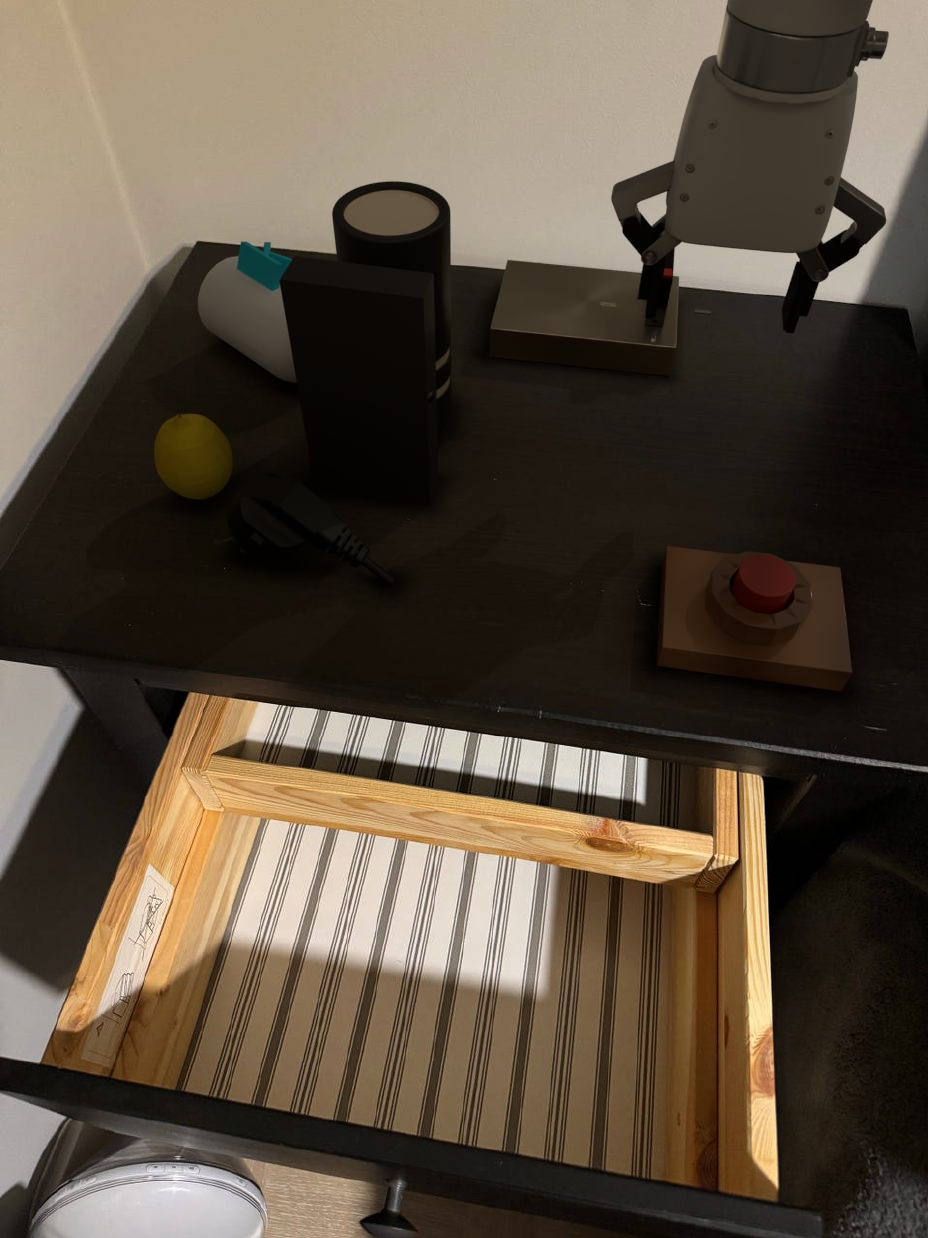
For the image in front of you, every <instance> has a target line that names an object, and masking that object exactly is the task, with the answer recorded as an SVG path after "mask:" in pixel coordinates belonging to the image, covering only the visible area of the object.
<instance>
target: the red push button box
mask: <svg viewBox="0 0 928 1238" xmlns="http://www.w3.org/2000/svg"><path fill="white" fill-rule="evenodd" d="M754 555H770V556H774V557H776V558H779V559H781V560H782V561H784V562H785V563H787V564H788V565H789V566H790V567H791V569H792V570H793V572H794V574H795V578H796V583H795V586H794V588H793V591H792V593H791V595H790V597H789V599H788V601H787V603H786V605H785V606H784V607H783V608H782V609H781V610H779V611H777V612H774V613H767V614H764V613H757V612H754V611H751V610H749V609H747V608H745V607H744V606H742V605H741V604H740V603H739V602H738V601H737V599H736V598H735V596H734V593H733V583H734V580H735V578H736V575H737V572H738V570H739V567H740V565H741V563H742V562H743V561H744V560H745V559H747V558H748V557H751V556H754ZM850 649H851V648H850V640H849V633H848V624H847V614H846V605H845V597H844V589H843V577H842V572H841V567H839V566H831V565H824V564H817V563H816V564H815V563H807V562H800V561H792V560H786V559H783V558H782V557H780V556H778V555H775V554H773V553H768V552H760V551H753V550H752V551H751V550H747V551H742V552H740V553H729V552H728V553H727V552H719V551H714V550H713V551H712V550H705V549H704V550H703V549H696V548H689V547H688V548H687V547H680V546H673V545H666V547H665V550H664V554H663V558H662V562H661V565H660V583H659V605H658V627H657V647H656V667H662V668H663V667H664V668H669V669H677V670H683V671H684V670H685V671H691V672H699V673H705V674H713V675H720V676H728V677H734V678H741V679H749V680H756V681H762V682H764V681H765V682H771V683H777V684H786V685H790V686H791V685H792V686H799V687H807V688H814V689H819V690H828V691H835V692H842V690H843V689H844V687H845V685H847V682H848V680H849V679H850V677H851V676H852V674H853V666H852V658H851V650H850Z"/></svg>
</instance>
